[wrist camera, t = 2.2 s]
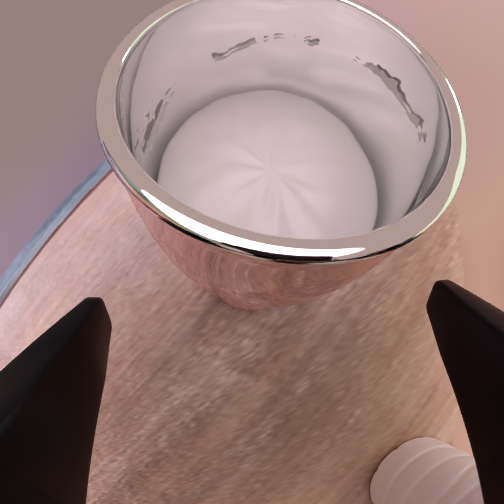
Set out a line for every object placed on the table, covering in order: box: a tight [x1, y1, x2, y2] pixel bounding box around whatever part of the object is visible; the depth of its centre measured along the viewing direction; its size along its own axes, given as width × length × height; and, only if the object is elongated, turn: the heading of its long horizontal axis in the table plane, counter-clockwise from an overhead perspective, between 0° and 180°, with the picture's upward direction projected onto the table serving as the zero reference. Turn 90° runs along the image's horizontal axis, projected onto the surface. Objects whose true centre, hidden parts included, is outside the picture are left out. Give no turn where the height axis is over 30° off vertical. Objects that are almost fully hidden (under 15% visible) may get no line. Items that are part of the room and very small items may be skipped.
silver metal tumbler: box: [96, 0, 467, 311], centre depth 12 cm, size 7×7×15 cm
